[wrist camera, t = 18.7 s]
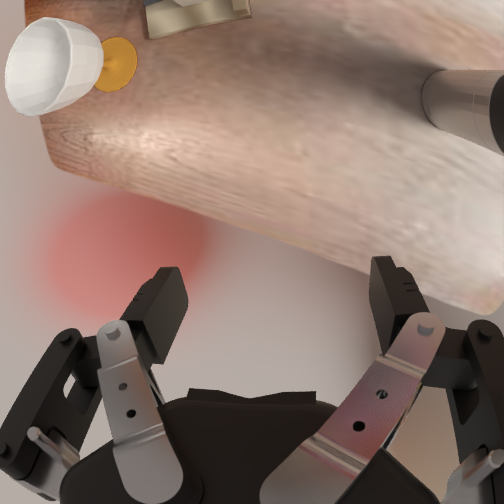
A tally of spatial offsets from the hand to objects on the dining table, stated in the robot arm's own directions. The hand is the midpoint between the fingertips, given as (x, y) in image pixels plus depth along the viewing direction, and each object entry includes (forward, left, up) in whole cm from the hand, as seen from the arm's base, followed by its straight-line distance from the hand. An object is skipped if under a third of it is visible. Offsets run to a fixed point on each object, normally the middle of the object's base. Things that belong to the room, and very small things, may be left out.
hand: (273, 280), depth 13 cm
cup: (+24, -17, -32) cm, 44 cm away
